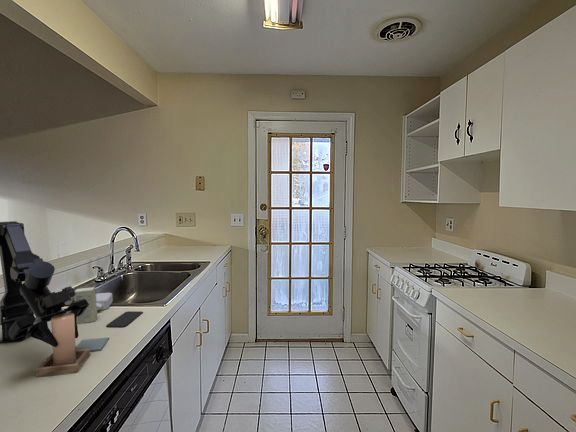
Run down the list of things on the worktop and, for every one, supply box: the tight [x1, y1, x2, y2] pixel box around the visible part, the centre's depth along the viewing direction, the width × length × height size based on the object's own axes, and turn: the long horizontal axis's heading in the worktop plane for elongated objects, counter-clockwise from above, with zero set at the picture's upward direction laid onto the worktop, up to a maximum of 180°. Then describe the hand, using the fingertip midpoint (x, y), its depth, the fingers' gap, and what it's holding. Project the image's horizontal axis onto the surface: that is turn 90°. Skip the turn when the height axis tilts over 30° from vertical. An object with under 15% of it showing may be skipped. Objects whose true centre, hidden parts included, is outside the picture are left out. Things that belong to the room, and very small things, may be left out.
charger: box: [96, 292, 114, 311], centre depth 132 cm, size 5×9×15 cm
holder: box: [35, 349, 91, 378], centre depth 88 cm, size 10×10×2 cm
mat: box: [76, 337, 110, 353], centre depth 100 cm, size 8×8×1 cm
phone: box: [105, 310, 144, 329], centre depth 121 cm, size 7×1×15 cm
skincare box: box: [73, 286, 98, 325], centre depth 119 cm, size 6×4×12 cm
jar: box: [50, 313, 77, 366], centre depth 88 cm, size 5×5×14 cm
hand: (67, 341), depth 87 cm, fingers closed on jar, 5 cm apart
